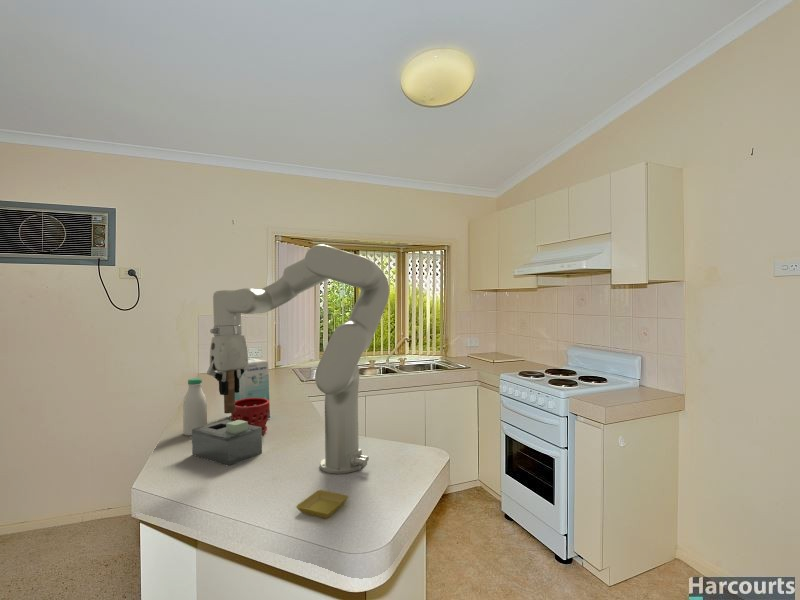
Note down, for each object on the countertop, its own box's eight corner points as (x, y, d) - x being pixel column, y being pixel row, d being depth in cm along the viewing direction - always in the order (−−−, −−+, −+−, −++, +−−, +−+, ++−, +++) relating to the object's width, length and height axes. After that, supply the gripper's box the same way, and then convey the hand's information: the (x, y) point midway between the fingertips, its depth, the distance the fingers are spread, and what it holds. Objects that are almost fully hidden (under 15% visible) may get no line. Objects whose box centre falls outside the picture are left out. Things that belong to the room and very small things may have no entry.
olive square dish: (328, 523, 83) (327, 513, 83) (295, 515, 86) (295, 506, 86) (349, 504, 90) (349, 495, 90) (318, 498, 94) (318, 489, 94)
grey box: (261, 452, 124) (261, 427, 124) (227, 466, 114) (227, 438, 114) (226, 443, 133) (226, 419, 133) (192, 454, 123) (192, 429, 123)
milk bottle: (205, 434, 143) (205, 379, 144) (181, 437, 140) (181, 381, 141) (207, 428, 150) (207, 376, 151) (184, 431, 148) (184, 378, 148)
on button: (247, 437, 122) (247, 421, 122) (235, 442, 118) (235, 425, 118) (238, 435, 124) (238, 419, 124) (226, 439, 120) (226, 423, 120)
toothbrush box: (230, 415, 169) (230, 359, 170) (254, 411, 176) (253, 357, 177) (245, 424, 156) (244, 363, 156) (270, 419, 163) (269, 360, 163)
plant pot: (223, 439, 138) (223, 404, 138) (246, 427, 151) (246, 396, 151) (255, 441, 135) (255, 406, 135) (276, 429, 147) (276, 397, 148)
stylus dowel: (237, 411, 117) (236, 364, 117) (228, 413, 114) (227, 365, 115) (231, 410, 118) (230, 363, 119) (222, 412, 116) (221, 365, 116)
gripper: (208, 333, 108) (210, 400, 107) (259, 329, 122) (260, 389, 121) (194, 333, 112) (195, 398, 112) (244, 330, 126) (245, 387, 125)
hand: (229, 392), depth 116 cm, fingers closed on stylus dowel, 3 cm apart
